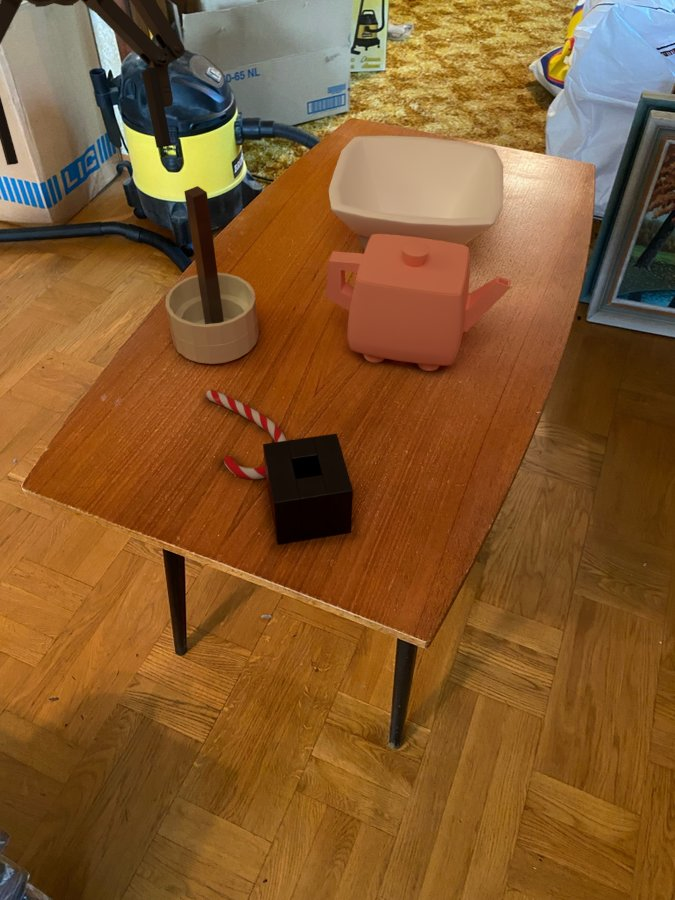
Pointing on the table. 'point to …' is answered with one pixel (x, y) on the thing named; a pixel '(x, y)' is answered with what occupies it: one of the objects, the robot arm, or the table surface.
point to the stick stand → (308, 488)
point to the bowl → (417, 188)
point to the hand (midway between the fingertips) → (91, 155)
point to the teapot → (409, 298)
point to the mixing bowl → (215, 338)
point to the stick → (204, 254)
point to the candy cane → (254, 417)
